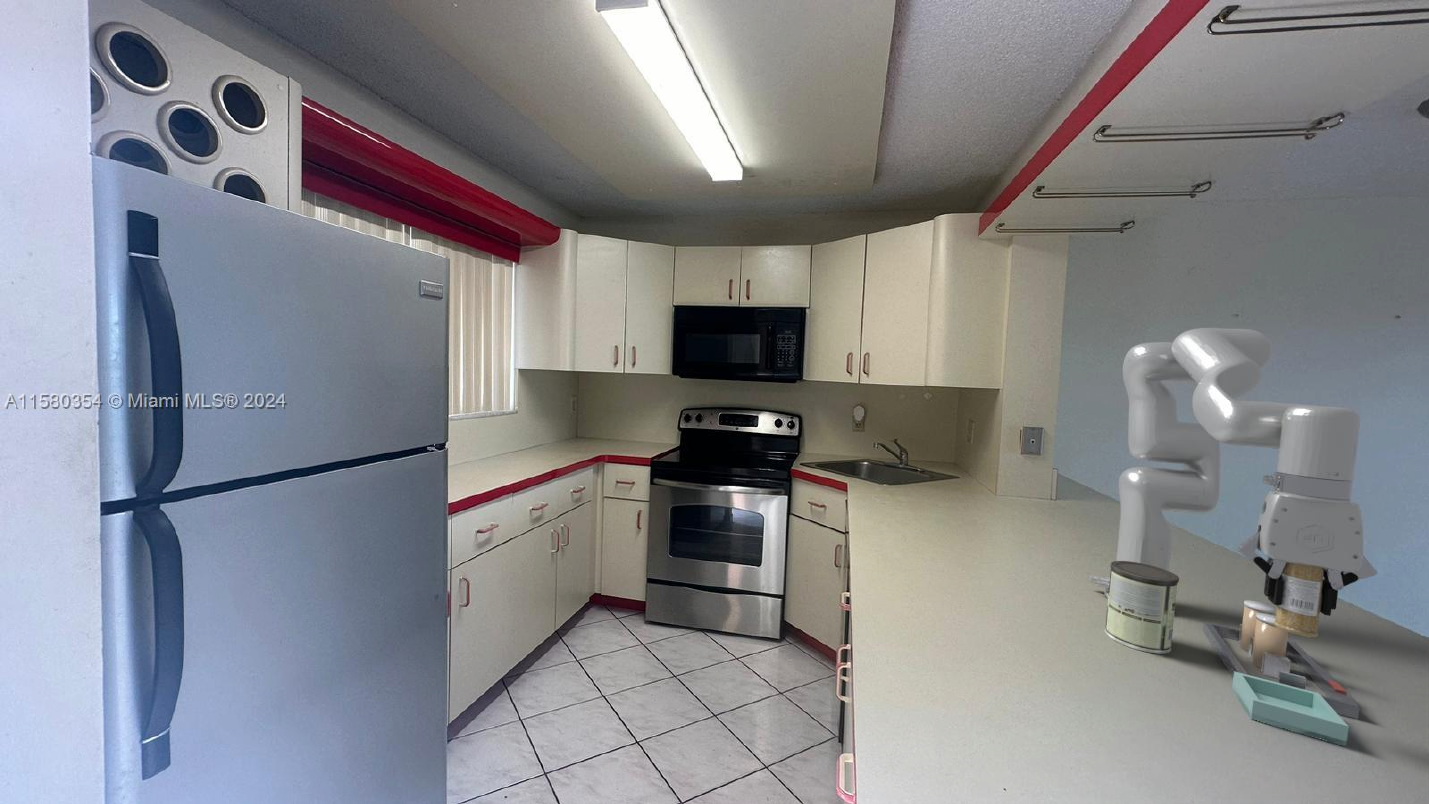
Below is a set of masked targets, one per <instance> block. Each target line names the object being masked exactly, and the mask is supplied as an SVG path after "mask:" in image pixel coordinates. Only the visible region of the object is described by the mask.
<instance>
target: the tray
mask: <svg viewBox="0 0 1429 804" xmlns="http://www.w3.org/2000/svg"><path fill="white" fill-rule="evenodd" d="M1232 678H1233V679H1232V685H1231V687H1232V691H1233V694H1235V696H1236V698H1237V699H1238V701H1239V702H1240V704H1241V706H1242V707H1243V708H1244V711H1245V712H1246V714H1247V715H1248V717H1249V718H1250V720H1252V719H1254V720H1253V721H1255V720H1257V721H1256V722H1259V721H1260V723H1262V722H1263V724H1265V723H1267V724H1266V725H1269V724H1270V726H1273V727H1275V728H1280V729H1283V728H1286V729H1288V730H1287V731H1289V730H1292V731H1291V732H1293V731H1296V732H1297V734H1300V733H1301V734H1300V735H1303V734H1304V736H1307V737H1310V736H1313V737H1317V738H1321V739H1322V740H1321V741H1324V740H1327V741H1329V742H1328V743H1331V744H1334V745H1338V746H1341V745H1342V746H1341V747H1345V748H1347V743H1348V735H1349V734H1348V733H1349V725H1348V724H1347V723H1346V721H1344V719H1343V718H1342V717H1341V716H1340V714H1337V713H1336V712H1335V711H1334V710H1333V709H1332V707H1331V706H1330V705H1329V704H1328V703H1327V702H1326V701H1325V700H1324V699H1323V697H1322V696H1323V695H1322V694H1320V693H1319V692H1315V691H1311V690H1307V689H1305V690H1304V689H1300V688H1296V687H1293V686H1289V685H1285V684H1281V683H1277V681H1273V680H1269V679H1265V678H1262V677H1258V676H1253V675H1249V674H1248V675H1246V674H1242V673H1238V672H1235V671H1234V677H1232ZM1321 695H1322V696H1321ZM1286 729H1285V730H1286ZM1296 732H1295V733H1296ZM1313 737H1312V738H1313ZM1317 738H1316V739H1317ZM1323 739H1324V740H1323ZM1327 741H1326V742H1327Z"/></svg>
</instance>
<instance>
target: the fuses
mask: <svg viewBox="0 0 1429 804" xmlns="http://www.w3.org/2000/svg"><path fill="white" fill-rule="evenodd" d="M1276 611H1277V608H1276V607H1274V606H1272V605H1269V604H1266V603H1264V602H1260V601H1254V600H1250V599H1249V600H1247V599H1246V600H1244V602H1243V615H1242V616H1243V617H1242V623H1241V624H1242V631H1241V640H1240V642H1239V648H1240V649H1242V650H1243V651H1245V652H1248V653H1249V646H1250V637H1254V645H1253V654H1252V657H1251V664H1252V665H1254V666H1256V667H1257V668H1259V669H1262V660H1263V652H1266V653H1270V654H1274V655H1278V656H1283V657H1287V656H1286V654H1287V652H1286V647H1287V641H1288V638H1289V632H1287V631H1285V630H1282V629H1280V628H1278V627H1277V626H1276V625H1275V624H1274V621H1275V620H1276V615H1275V614H1276Z"/></svg>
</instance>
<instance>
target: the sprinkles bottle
mask: <svg viewBox="0 0 1429 804" xmlns="http://www.w3.org/2000/svg"><path fill="white" fill-rule="evenodd" d="M1323 574H1324V568H1318V567H1312V566H1306V565H1300V564H1295V563H1289V562H1286V564H1285V566H1284V568H1283V571H1282V573H1281V579H1282V580H1283V581H1284V588H1283V596H1282V604H1281V605H1279V606H1278V605H1276V612H1275V616H1276V620H1275V621H1274V624H1275V625H1276V626H1277V627H1278V628H1280V629H1282V630H1285V631H1287V632H1288V633H1290V634H1294V635H1297V636H1301V637H1307V638H1313V637H1314V638H1316V637H1318V636H1319V632H1318V627H1319V619H1320V615H1321V612H1320V609H1321V601H1322V585H1323Z"/></svg>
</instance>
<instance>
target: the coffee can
mask: <svg viewBox="0 0 1429 804" xmlns="http://www.w3.org/2000/svg"><path fill="white" fill-rule="evenodd" d="M1109 575H1110V576H1109V577H1110V584H1109V595H1108V598H1107V607H1106V608H1107V609H1106V618H1105V619H1106V620H1105V628H1104V633H1105V635H1106V636H1107V637H1108V638H1110V639H1111V640H1113V641H1114V642H1116V643H1117V644H1119V645H1123V646H1124V647H1128V648H1131V649H1133V650H1137V651H1141V652H1145V653H1149V654H1150V653H1151V654H1156V655H1157V654H1158V655H1165V654H1169V653H1170V652H1172V642H1173V641H1172V639H1173V631H1174V630H1173V629H1174V621H1175V609H1176V603H1177V594H1178V593H1177V592H1178V583H1179V582H1180V577H1179V576H1178V575H1177V574H1175V573H1174V572H1171V571H1170V570H1169V571H1167V570H1164V569H1162V568H1158V567H1155V566H1151V565H1147V564H1142V563H1137V562H1130V561H1116V560H1114V561H1112V562H1110V574H1109Z"/></svg>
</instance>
